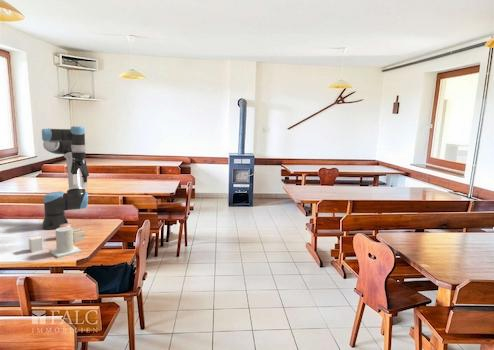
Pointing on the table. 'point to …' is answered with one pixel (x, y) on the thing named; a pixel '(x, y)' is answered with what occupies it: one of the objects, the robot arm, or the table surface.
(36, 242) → the offwhite box
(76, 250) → the mat
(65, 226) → the terracotta cylinder
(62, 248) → the cup
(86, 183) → the robot arm
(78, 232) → the birch block
